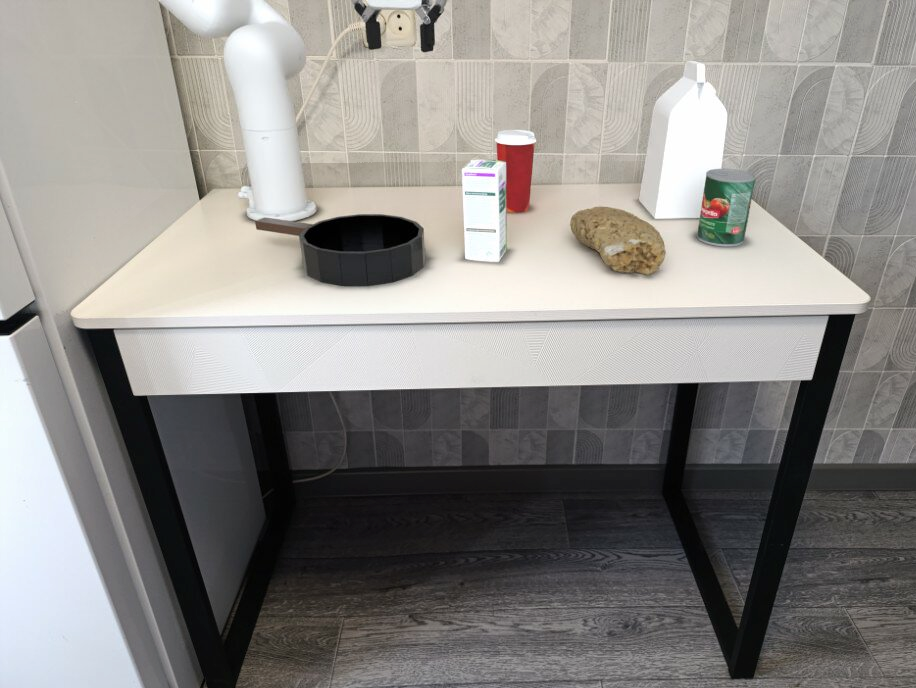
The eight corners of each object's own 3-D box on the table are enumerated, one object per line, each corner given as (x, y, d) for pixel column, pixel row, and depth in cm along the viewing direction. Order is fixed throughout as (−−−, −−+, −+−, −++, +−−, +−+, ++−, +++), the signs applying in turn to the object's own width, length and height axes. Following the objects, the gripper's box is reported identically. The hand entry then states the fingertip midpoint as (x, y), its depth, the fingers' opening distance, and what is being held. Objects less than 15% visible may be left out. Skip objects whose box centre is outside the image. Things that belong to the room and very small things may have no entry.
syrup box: (499, 262, 109) (500, 168, 101) (463, 259, 110) (461, 166, 102) (507, 250, 113) (508, 160, 106) (472, 248, 114) (470, 158, 107)
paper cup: (541, 206, 135) (544, 131, 128) (521, 216, 129) (522, 138, 122) (507, 200, 139) (508, 127, 132) (486, 209, 133) (486, 133, 126)
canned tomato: (752, 238, 119) (764, 174, 114) (730, 250, 114) (742, 183, 109) (710, 228, 124) (720, 166, 118) (687, 239, 119) (697, 174, 113)
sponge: (671, 283, 105) (644, 217, 120) (671, 239, 100) (643, 176, 114) (585, 298, 106) (569, 231, 121) (580, 255, 101) (564, 190, 115)
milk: (638, 200, 139) (654, 58, 126) (695, 199, 140) (715, 58, 127) (654, 218, 129) (673, 66, 116) (715, 217, 130) (740, 66, 117)
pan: (225, 265, 107) (219, 234, 104) (298, 230, 122) (294, 202, 119) (387, 294, 98) (384, 260, 95) (444, 252, 113) (443, 222, 110)
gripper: (456, -74, 105) (458, 50, 113) (357, -73, 110) (367, 46, 119) (433, -77, 99) (438, 54, 107) (330, -76, 104) (342, 50, 113)
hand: (400, 50), depth 113 cm, fingers open, 9 cm apart
